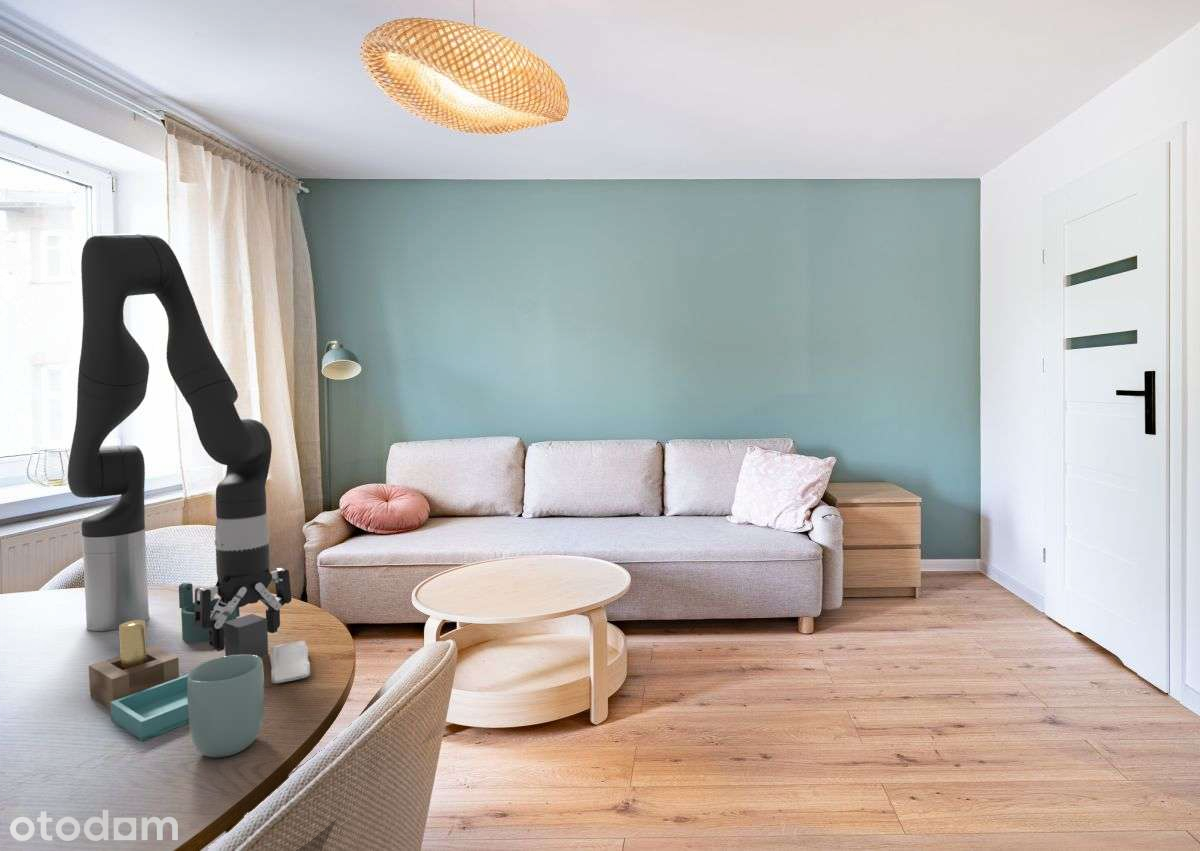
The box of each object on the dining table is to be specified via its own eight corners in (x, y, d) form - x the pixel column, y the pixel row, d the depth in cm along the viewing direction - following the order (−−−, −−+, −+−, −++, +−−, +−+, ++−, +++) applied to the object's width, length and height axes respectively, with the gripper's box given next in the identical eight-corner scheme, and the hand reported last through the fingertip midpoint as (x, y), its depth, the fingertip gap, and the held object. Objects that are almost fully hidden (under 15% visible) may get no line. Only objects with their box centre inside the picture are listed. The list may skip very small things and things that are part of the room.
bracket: (239, 636, 109) (238, 586, 108) (177, 647, 104) (175, 595, 104) (239, 620, 116) (238, 574, 116) (181, 629, 112) (179, 581, 111)
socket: (90, 695, 87) (88, 665, 87) (154, 673, 94) (153, 645, 94) (113, 711, 83) (112, 679, 83) (179, 687, 90) (178, 657, 90)
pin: (118, 693, 88) (115, 625, 88) (142, 684, 91) (139, 618, 90) (127, 698, 86) (124, 629, 86) (152, 690, 89) (149, 622, 88)
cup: (212, 731, 78) (209, 654, 78) (276, 728, 79) (273, 652, 78) (176, 768, 70) (172, 684, 70) (246, 765, 71) (243, 681, 71)
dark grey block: (240, 664, 97) (238, 627, 97) (225, 658, 100) (224, 622, 99) (268, 654, 101) (266, 618, 101) (253, 648, 103) (252, 613, 103)
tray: (111, 720, 81) (110, 701, 81) (210, 683, 91) (209, 666, 91) (142, 741, 76) (141, 722, 76) (243, 699, 86) (242, 682, 86)
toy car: (270, 691, 89) (270, 669, 89) (269, 659, 100) (269, 639, 100) (312, 682, 92) (311, 661, 92) (307, 652, 102) (306, 633, 102)
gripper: (207, 556, 91) (211, 662, 92) (298, 536, 103) (301, 630, 104) (183, 549, 95) (187, 651, 96) (273, 531, 107) (276, 622, 108)
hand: (246, 640), depth 100 cm, fingers open, 8 cm apart
